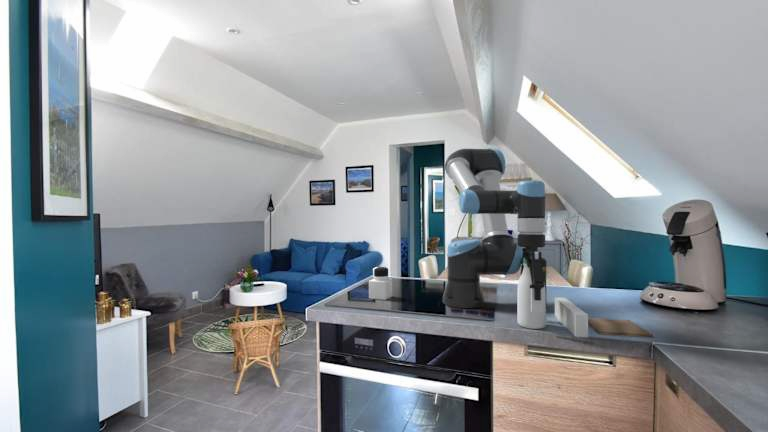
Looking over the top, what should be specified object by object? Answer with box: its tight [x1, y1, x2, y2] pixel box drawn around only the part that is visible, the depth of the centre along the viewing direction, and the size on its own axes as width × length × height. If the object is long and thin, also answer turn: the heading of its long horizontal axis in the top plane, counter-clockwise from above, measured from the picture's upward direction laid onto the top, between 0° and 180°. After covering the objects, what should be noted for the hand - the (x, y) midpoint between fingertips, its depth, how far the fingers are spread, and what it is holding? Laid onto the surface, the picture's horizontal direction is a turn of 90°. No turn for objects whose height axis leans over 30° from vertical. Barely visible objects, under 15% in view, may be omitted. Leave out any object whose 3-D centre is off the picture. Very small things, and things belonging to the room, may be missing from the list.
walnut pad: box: [588, 317, 655, 338], centre depth 100 cm, size 13×13×1 cm
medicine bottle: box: [368, 266, 393, 301], centre depth 138 cm, size 7×7×12 cm
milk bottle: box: [516, 257, 547, 330], centre depth 103 cm, size 8×8×20 cm
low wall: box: [554, 296, 589, 338], centre depth 103 cm, size 3×20×6 cm, turn 168°
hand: (531, 305), depth 103 cm, fingers open, 13 cm apart
